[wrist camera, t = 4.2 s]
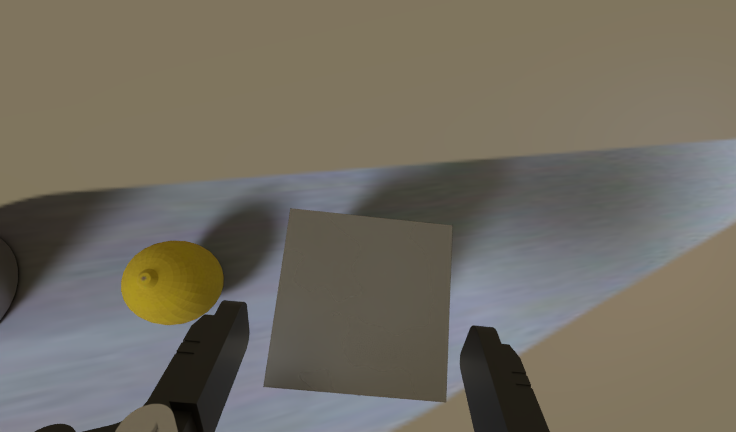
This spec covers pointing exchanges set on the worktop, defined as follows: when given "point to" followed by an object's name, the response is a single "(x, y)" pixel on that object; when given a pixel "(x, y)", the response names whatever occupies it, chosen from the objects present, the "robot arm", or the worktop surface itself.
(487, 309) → the worktop surface
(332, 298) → the column
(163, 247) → the lemon
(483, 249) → the worktop surface
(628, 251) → the worktop surface
